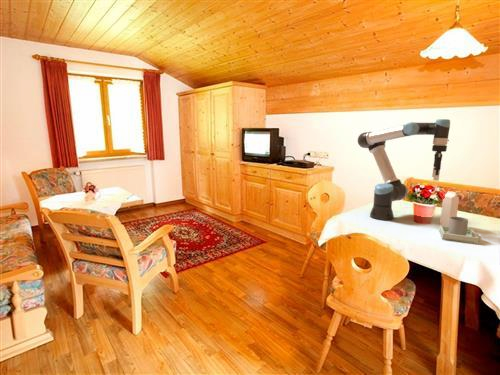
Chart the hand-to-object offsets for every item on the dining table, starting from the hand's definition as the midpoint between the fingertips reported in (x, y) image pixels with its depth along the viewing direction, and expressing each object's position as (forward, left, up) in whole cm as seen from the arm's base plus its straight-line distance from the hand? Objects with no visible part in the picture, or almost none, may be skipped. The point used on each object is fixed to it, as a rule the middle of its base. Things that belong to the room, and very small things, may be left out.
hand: (435, 178), depth 185 cm
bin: (+12, -21, -30) cm, 38 cm away
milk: (+10, +2, -30) cm, 32 cm away
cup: (+12, -21, -29) cm, 38 cm away
